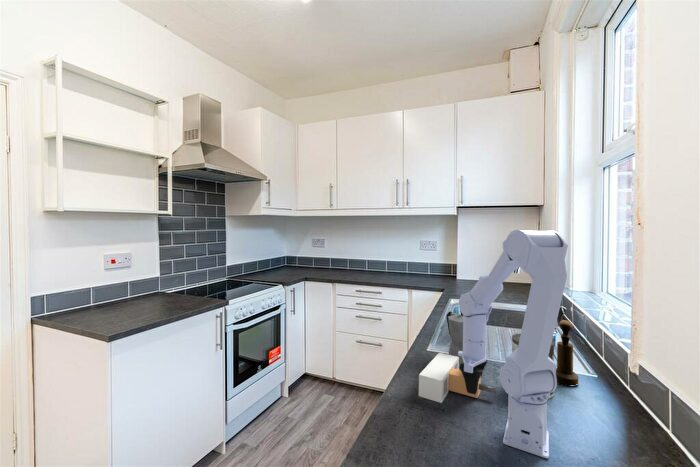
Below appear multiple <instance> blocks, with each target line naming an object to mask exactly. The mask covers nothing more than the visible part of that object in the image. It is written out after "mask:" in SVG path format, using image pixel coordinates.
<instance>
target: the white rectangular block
mask: <svg viewBox="0 0 700 467" xmlns="http://www.w3.org/2000/svg"><path fill="white" fill-rule="evenodd" d="M448 354H449V353H447V354H446V353H444V352H443V353H442V352H438V353H437V354H436V355H435V357H434V358H433V359H432V360H431V361H430V362H429V363H428V364H427V365H426V366H425V368H423V370H421V372H420V373H419V375H418V397H419V398H424V399H427V400H431V401H433V402H437V403H440V404H443V401H444V400H445V398H446V397H447V395H448V393H449V391H450V390H449V372H450V371H451V369H452V368H453V369H457V370H460V369H459V357H457V356H452V355H448Z"/></svg>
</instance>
